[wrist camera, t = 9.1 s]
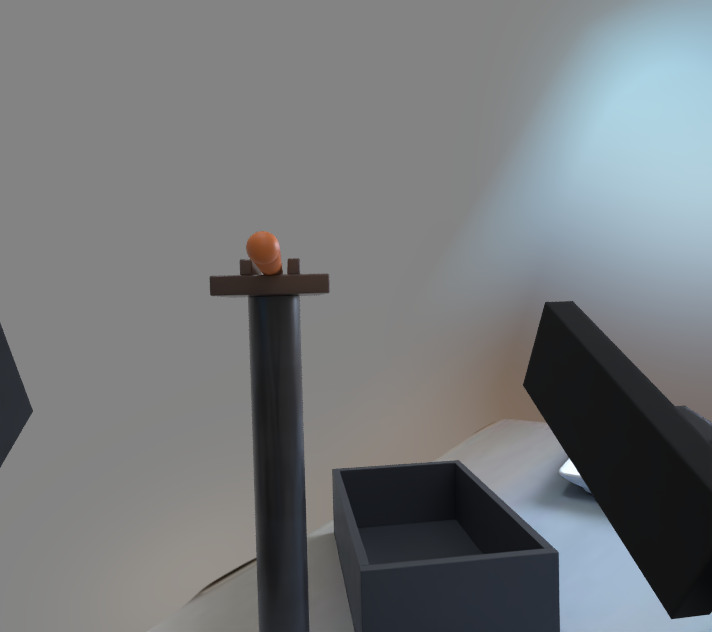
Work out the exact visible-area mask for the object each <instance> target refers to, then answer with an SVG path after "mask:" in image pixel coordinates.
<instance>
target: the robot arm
mask: <svg viewBox="0 0 712 632" xmlns="http://www.w3.org/2000/svg"><path fill="white" fill-rule="evenodd" d="M523 386H524V388H525V389H526V390H527V392H528V394H529V395H530V397H531V399H532V400H533V402H534V403H535V405H536V406H537V408H538V410H539V411H540V413H541V414H542V416H543V417H544V419H545V420H546V422H547V424H548V425H549V427H550V429H551V430H552V432H553V433H554V435H555V436H556V438H557V440H558V441H559V443H560V444H561V446H562V447H563V449H564V451H565V452H566V454H567V455H568V457H569V458H570V460H571V462H572V463H573V465H574V466H575V468H576V469H577V471H578V473H579V474H580V476H581V477H582V479H583V481H584V482H585V484H586V485H587V487H588V488H589V490H590V492H591V493H592V495H593V496H594V498H595V499H596V501H597V503H598V504H599V506H600V507H601V509H602V510H603V512H604V514H605V515H606V517H607V518H608V520H609V521H610V523H611V525H612V526H613V528H614V529H615V531H616V533H617V534H618V536H619V537H620V539H621V540H622V542H623V544H624V545H625V547H626V548H627V550H628V551H629V553H630V555H631V556H632V558H633V559H634V561H635V562H636V564H637V566H638V567H639V569H640V570H641V572H642V573H643V575H644V577H645V578H646V580H647V581H648V583H649V585H650V586H651V588H652V589H653V591H654V592H655V594H656V596H657V597H658V599H659V600H660V602H661V603H662V605H663V607H664V608H665V610H666V611H667V613H668V614H669V616H670V618H671V619H676V618H684V617H692V616H701V615H709V614H710V613H711V612H712V423H711V422H710V421H709V420H707V419H705V418H704V417H702V416H700V415H699V414H697V413H696V412H694V411H693V410H691V409H689V408H688V407H686V406H674V405H673V404H672V403H671V402H670V401H669V400H668V399H667V398H666V397H665V396H664V395H663V394H662V393H661V392H660V391H659V390H658V389H657V387H656V386H655V385H654V384H653V383H651V381H650V380H649V379H648V378H647V377H646V376H645V375H644V374H643V373H642V372H641V371H640V370H639V369H638V368H637V367H636V366H635V365H634V364H633V363H632V362H631V361H630V360H629V359H628V358H627V357H626V356H625V355H624V354H623V353H622V351H621V350H620V349H619V348H618V347H617V346H616V345H615V344H614V343H613V342H612V341H611V340H610V339H609V338H608V337H607V336H606V335H605V334H604V333H603V332H602V331H601V330H600V329H599V328H598V327H597V326H596V325H595V324H594V323H593V322H592V321H591V320H590V319H589V317H588V316H587V315H586V314H585V313H584V312H583V311H582V310H581V309H580V308H579V307H578V306H577V305H576V304H575V303H574V302H573V301H566V302H545V305H544V309H543V313H542V316H541V320H540V324H539V327H538V331H537V335H536V339H535V343H534V346H533V350H532V354H531V357H530V361H529V365H528V369H527V372H526V376H525V380H524V383H523ZM32 412H33V410H32V407H31V405H30V402H29V399H28V397H27V394H26V392H25V389H24V386H23V383H22V380H21V378H20V375H19V372H18V370H17V367H16V364H15V362H14V359H13V356H12V354H11V351H10V348H9V345H8V343H7V340H6V337H5V335H4V332H3V329H2V327H1V324H0V467H1V465H2V463H3V462H4V460H5V458H6V457H7V455H8V453H9V451H10V450H11V448H12V446H13V445H14V443H15V441H16V439H17V438H18V436H19V434H20V433H21V431H22V429H23V427H24V426H25V424H26V422H27V420H28V419H29V417H30V415H31V414H32Z"/></svg>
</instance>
